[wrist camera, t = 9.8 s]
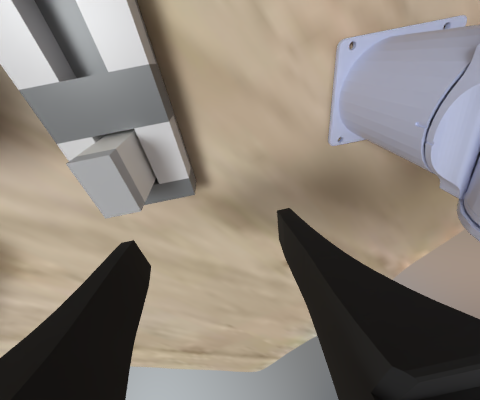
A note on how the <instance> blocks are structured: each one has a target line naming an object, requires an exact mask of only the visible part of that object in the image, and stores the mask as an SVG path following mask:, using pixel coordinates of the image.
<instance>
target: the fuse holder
mask: <svg viewBox="0 0 480 400" xmlns="http://www.w3.org/2000/svg"><path fill="white" fill-rule="evenodd" d="M0 64H1V66H2V67H3V68H4V70H5V71H6V73H7V74H8V76H9V77H10V78H11V80H12V81H13V83H14V84H15V85H16V87H17V88H18V90H19V91H20V93H21V94H22V95H23V97H24V98H25V100H26V101H27V102H28V104H29V105H30V107H31V108H32V110H33V111H34V112H35V114H36V115H37V117H38V118H39V119H40V121H41V122H42V124H43V125H44V127H45V128H46V129H47V131H48V132H49V134H50V135H51V137H52V138H53V139H54V141H55V142H56V144H57V145H58V146H59V148H60V149H61V151H62V152H63V154H64V155H65V156H66V158H67V159H68V161H71V160H72V159H73V158H75V157H76V156H78V155H79V154H80V153H82V152H83V151H84V150H86V149H87V148H89V147H90V146H91V145H93V144H94V143H96V142H97V141H98V140H100V139H101V138H102V137H104V136H105V135H107V134H109V133H114V132H119V131H124V130H129V129H135V132H136V134H137V136H138V138H139V140H140V143H141V145H142V147H143V149H144V151H145V153H146V156H147V158H148V160H149V162H150V164H151V167H152V169H153V171H154V173H155V175H156V179H155V182H154V184H153V186H152V188H151V190H150V193H149V195H148V197H147V199H146V201H145V204H144V205H147V204H152V203H157V202H162V201H166V200H171V199H176V198H181V197H186V196H191V195H195V189H196V178H195V175H194V172H193V169H192V166H191V163H190V160H189V157H188V154H187V151H186V148H185V145H184V142H183V139H182V136H181V133H180V130H179V127H178V124H177V121H176V118H175V115H174V112H173V109H172V106H171V103H170V100H169V97H168V94H167V91H166V88H165V85H164V82H163V78H162V75H161V72H160V69H159V66H158V63H157V60H156V57H155V54H154V51H153V48H152V45H151V42H150V39H149V36H148V33H147V30H146V27H145V24H144V21H143V18H142V15H141V12H140V9H139V6H138V3H137V0H0Z"/></svg>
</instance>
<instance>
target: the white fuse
mask: <svg viewBox="0 0 480 400" xmlns="http://www.w3.org/2000/svg"><path fill="white" fill-rule="evenodd" d="M66 164H67V166H68V167H69V169H70V170H71V171H72V173H73V174H74V176H75V177H76V178H77V180H78V181H79V182H80V184H81V185H82V187H83V188H84V189H85V191H86V192H87V194H88V195H89V196H90V198H91V199H92V201H93V202H94V203H95V205H96V206H97V207H98V209H99V210H100V212H101V213H102V214H103V216H104V217H105V218H110V217H115V216H120V215H125V214H130V213H135V212H139V211H141V210H142V208H143V206H144V204H145V201H146V199H147V197H148V195H149V193H150V190H151V188H152V186H153V184H154V182H155V179H156V175H155V173H154V171H153V169H152V167H151V164H150V162H149V160H148V158H147V156H146V153H145V151H144V149H143V147H142V145H141V143H140V140H139V138H138V136H137V134H136V132H135V129H129V130H124V131H119V132H114V133H109V134H107V135H105V136H104V137H102V138H101V139H100V140H98V141H97V142H96V143H94V144H93V145H91V146H90V147H89V148H87V149H86V150H84V151H83V152H82V153H80V154H79V155H78V156H76V157H75V158H73V159H72V160H71V161H69V162H68V163H66Z"/></svg>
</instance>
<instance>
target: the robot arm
mask: <svg viewBox="0 0 480 400" xmlns="http://www.w3.org/2000/svg"><path fill="white" fill-rule="evenodd" d="M466 22H467V17H466V16H465V15H461V16H456V17H451V18H446V19H441V20H436V21H431V22H426V23H421V24H416V25H411V26H406V27H401V28H396V29H391V30H386V31H381V32H376V33H371V34H366V35H361V36H355V37H350V38H345V39H343V40H341V41H340V42H339V44H338V46H337V51H336V62H335V73H334V84H333V94H332V105H331V116H330V126H329V137H328V143H329V144H330V145H332V146H336V145H341V144H346V143H351V142H356V141H361V140H368V141H370V142H372V143H374V144H376V145H378V146H380V147H382V148H384V149H386V150H388V151H390V152H392V153H394V154H396V155H398V156H400V157H402V158H404V159H406V160H408V161H410V162H412V163H414V164H416V165H418V166H420V167H422V168H424V169H426V170H428V171H430V172H432V173H434V174H436V175H437V176H438V177H439V179H440V188H441V189H442V190H444V191H446V192H448V193H450V194H451V195H453V196H455V197H457V198H459V201H458V204H457V214H458V218H459V220H460V222H461V224H462V225H463V226H464V228H465V229H466V230H467V231H468V232H469V233H470V234H471V235H472V236H473V237H475V238H476V239H477V240H478V241H480V25H473V26H466V27H465V25H466ZM444 25H445V28H444V29H443V27H444ZM351 42H353V47H352V49H351V50H350V49H349V45H350V43H351ZM340 137H341V139H340V141H338V139H339V138H340ZM277 217H278V231H279V241H280V244H281V247H282V250H283V253H284V256H285V258H286V261H287V263H288V265H289V267H290V269H291V272H292V274H293V276H294V278H295V280H296V283H297V285H298V287H299V289H300V291H301V293H302V296H303V298H304V300H305V302H306V305H307V307H308V310H309V313H310V316H311V318H312V321H313V324H314V327H315V330H316V333H317V336H318V338H319V341H320V344H321V347H322V350H323V353H324V356H325V359H326V362H327V365H328V368H329V371H330V374H331V377H332V380H333V383H334V386H335V389H336V393H337V396H338V399H339V400H480V319H478V318H475V317H473V316H470V315H468V314H465V313H463V312H461V311H458V310H456V309H454V308H451V307H449V306H447V305H444V304H442V303H439V302H437V301H435V300H432V299H430V298H428V297H426V296H424V295H422V294H420V293H417V292H415V291H413V290H411V289H409V288H407V287H405V286H403V285H401V284H399V283H397V282H395V281H393V280H391V279H389V278H388V277H386V276H384V275H382V274H380V273H378V272H376V271H374V270H373V269H371V268H369V267H367V266H366V265H364V264H362V263H361V262H359V261H357V260H356V259H354V258H353V257H351V256H349V255H348V254H346V253H345V252H343V251H342V250H341V249H339V248H338V247H336V246H335V245H333V244H332V243H331V242H329V241H328V240H327V239H325V238H324V237H323V236H321V235H320V234H319V233H318V232H316V231H315V230H314V229H313V228H312V227H310V226H309V225H308V224H307V223H306V222H305V221H303V220H302V219H301V218H300V217H299V216H298V215H297V214H296V213H295V212H293V211H292V210H291V209H290V208H287V209H282V210H277ZM150 271H151V265H150V264H149V262H148V261H147V259H146V258H145V256H144V255H143V253H142V252H141V250H140V249H139V247H138V246H137V244H136V243H135V241H134V240H133V241H129V242H124V243H121V244H120V245H119V246H118V247H117V248H116V249H115V250H114V251H113V252H112V253H111V254H110V255H109V256H108V257H107V258H106V259H105V261H104V262H103V263H102V264H101V265H100V266H99V267H98V268H97V269H96V270H95V271H94V272H93V273H92V274H91V276H90V277H89V278H88V279H87V280H86V281H85V282H84V283H83V284H82V285H81V286H80V287H79V288H78V289H77V290H76V291H75V292H74V293H73V294H72V295H71V296H70V297H69V298H68V299H67V300H66V301H65V302H64V303H63V304H62V305H61V306H60V307H59V308H58V309H57V310H56V311H55V312H54V313H52V314H51V315H50V316H49V317H48V318H47V319H46V320H45V321H44V322H43V323H41V324H40V325H39V326H38V327H37V328H36V329H35V330H34V331H32V332H31V333H30V334H29V335H28V336H27V337H26V338H24V339H23V340H22V341H21V342H19V343H18V344H17V345H16V346H15V347H13V348H12V349H11V350H10V351H8V352H7V353H6V354H5V355H4V356H2V357H1V358H0V400H125V398H126V390H127V384H128V376H129V369H130V363H131V357H132V351H133V345H134V341H135V336H136V332H137V329H138V325H139V321H140V317H141V314H142V310H143V306H144V302H145V298H146V295H147V291H148V287H149V280H150Z"/></svg>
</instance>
